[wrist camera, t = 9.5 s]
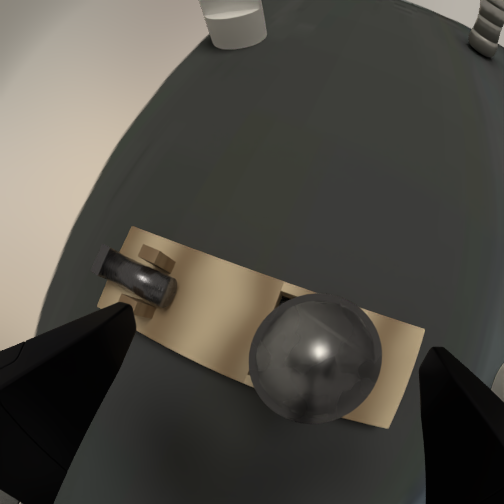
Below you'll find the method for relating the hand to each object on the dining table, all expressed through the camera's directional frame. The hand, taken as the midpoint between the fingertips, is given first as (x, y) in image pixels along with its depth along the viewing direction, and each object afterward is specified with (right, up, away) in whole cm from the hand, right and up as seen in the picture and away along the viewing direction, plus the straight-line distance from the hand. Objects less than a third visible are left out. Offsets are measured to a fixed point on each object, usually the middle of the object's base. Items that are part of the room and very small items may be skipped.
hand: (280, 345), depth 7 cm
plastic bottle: (+46, +43, +23) cm, 67 cm away
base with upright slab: (-3, +37, +29) cm, 47 cm away
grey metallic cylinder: (+3, -5, +14) cm, 15 cm away
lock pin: (-10, 0, +15) cm, 18 cm away
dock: (-1, -4, +15) cm, 15 cm away
